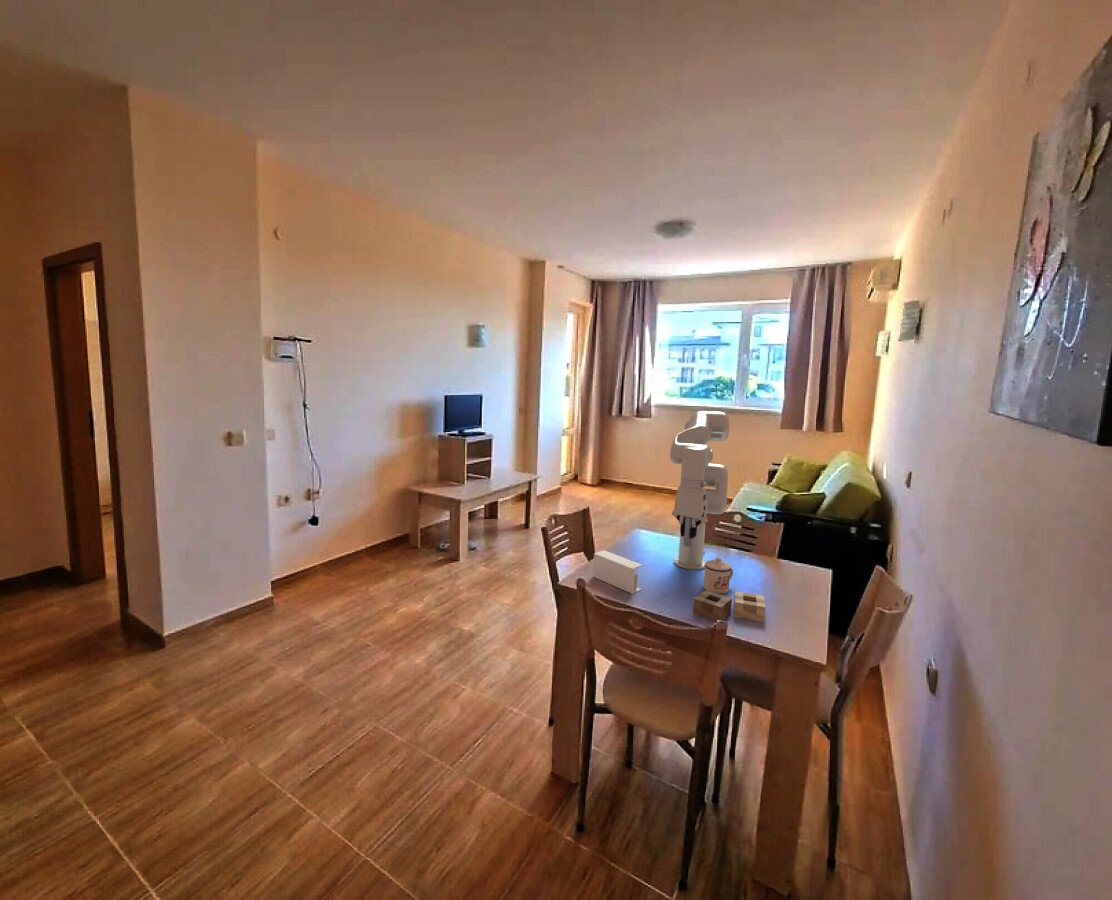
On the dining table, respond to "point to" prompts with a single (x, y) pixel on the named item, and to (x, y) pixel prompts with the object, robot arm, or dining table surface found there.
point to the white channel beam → (616, 571)
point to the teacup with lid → (717, 576)
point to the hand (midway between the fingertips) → (688, 536)
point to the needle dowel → (687, 531)
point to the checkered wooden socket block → (749, 606)
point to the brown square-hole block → (712, 605)
